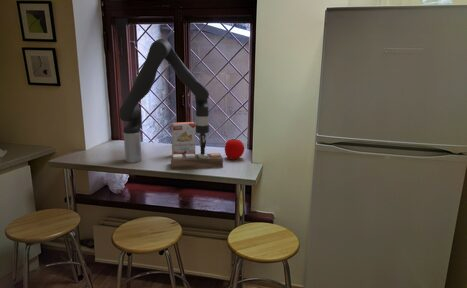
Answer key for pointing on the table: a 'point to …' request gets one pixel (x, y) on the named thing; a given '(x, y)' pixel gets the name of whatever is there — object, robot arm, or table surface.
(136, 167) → the table surface
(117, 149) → the table surface
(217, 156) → the terracotta key
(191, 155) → the grey key
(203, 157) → the sage key
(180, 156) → the ivory key
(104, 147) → the table surface
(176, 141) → the cracker box
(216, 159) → the brown long block
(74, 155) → the table surface
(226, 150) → the red apple
